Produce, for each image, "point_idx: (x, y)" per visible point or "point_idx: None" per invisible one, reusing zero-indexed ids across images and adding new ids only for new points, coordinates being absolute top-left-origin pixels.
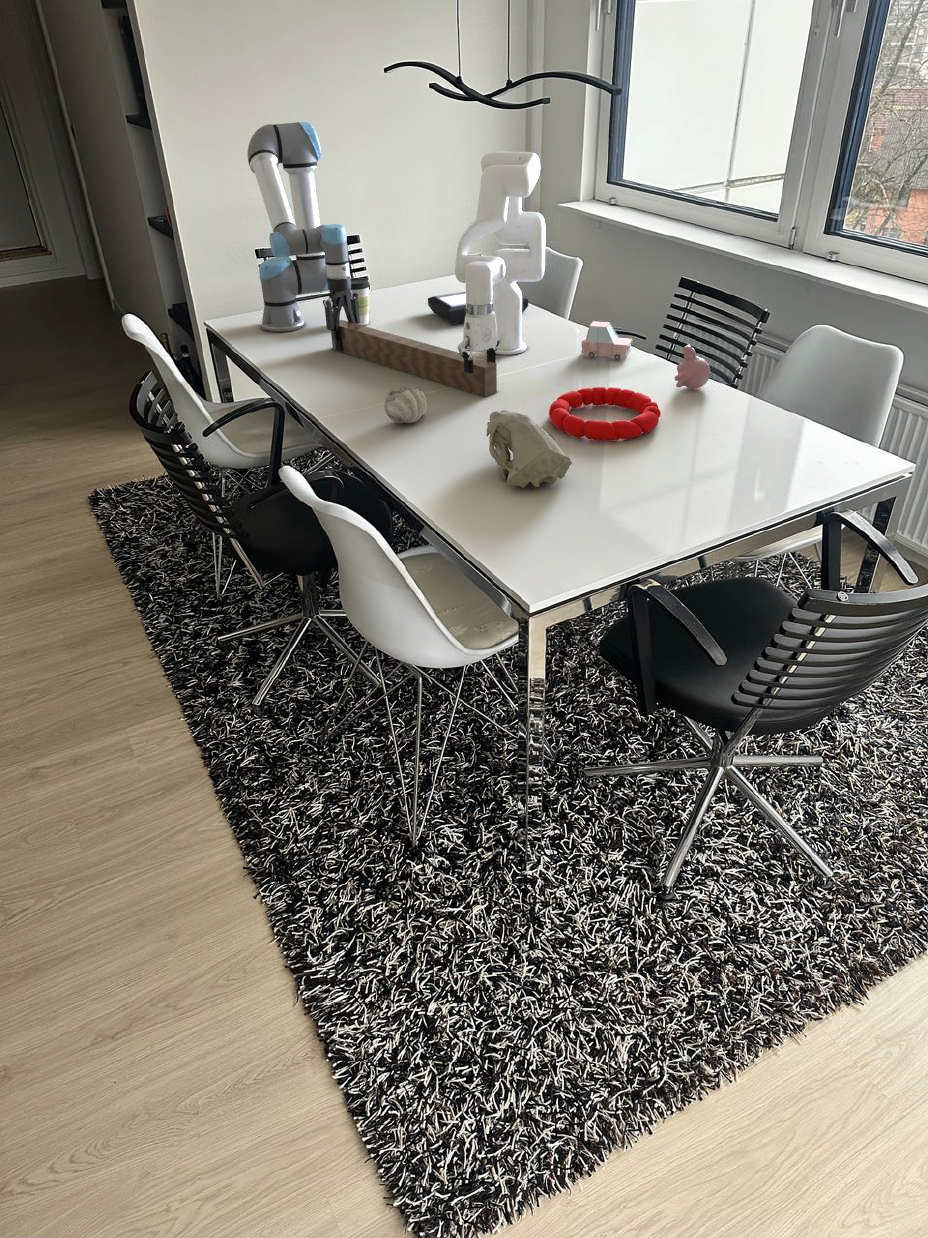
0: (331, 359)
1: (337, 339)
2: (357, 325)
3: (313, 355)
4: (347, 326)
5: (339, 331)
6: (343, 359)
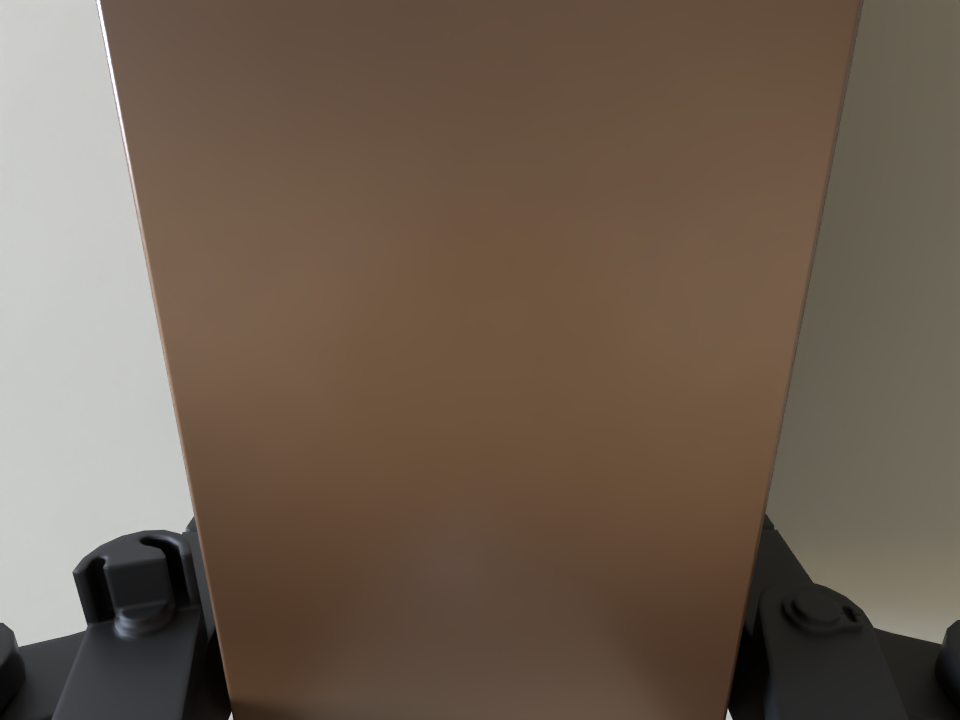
0: (953, 230)
1: None
2: (282, 276)
3: (917, 548)
4: (631, 478)
5: None
6: (864, 64)
